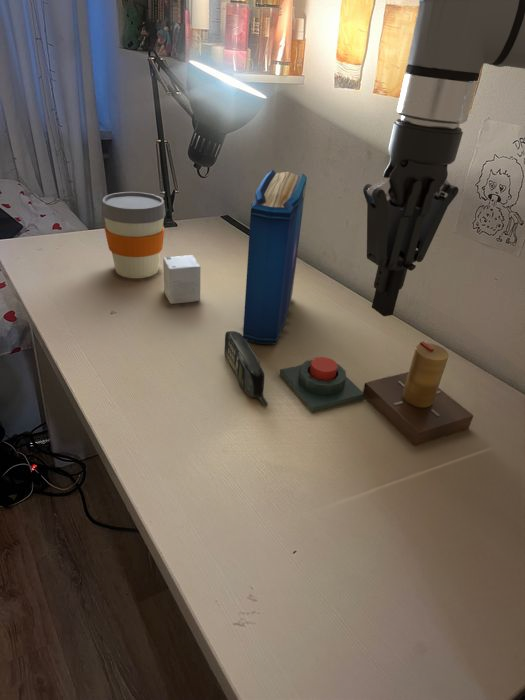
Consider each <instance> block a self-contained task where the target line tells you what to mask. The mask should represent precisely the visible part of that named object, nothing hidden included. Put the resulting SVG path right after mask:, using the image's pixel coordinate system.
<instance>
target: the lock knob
mask: <svg viewBox="0 0 525 700" xmlns="http://www.w3.org/2000/svg"><path fill="white" fill-rule="evenodd" d="M449 357H450V355H449V352H448V351H447V350H446V349H445V348H444V347H442V346H440V345H438V344H435V343H429V342H425V341H419V344H417V345H416V346H415V348H414V352H413V356H412V359H411V363H410V366H409V370H408V372H409V373H408V376H407V380H406V383H405V387H404V390H403V398H404V399H405V401H406V402H408V403H409V404H411V405H413V406H417V407H429V406H431V405H432V404H433V402H434V399H435V396H436V393H437V390H438V388H440V383H441V380H442V377H443V374H444V371H445V368H446V365H447V363H448V359H449Z"/></svg>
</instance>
